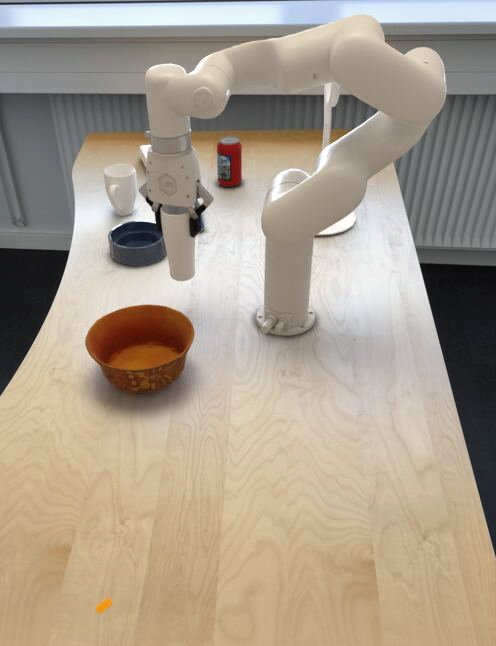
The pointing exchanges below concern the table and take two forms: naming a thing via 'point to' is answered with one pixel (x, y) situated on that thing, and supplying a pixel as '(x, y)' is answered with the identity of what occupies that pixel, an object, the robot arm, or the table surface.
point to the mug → (121, 187)
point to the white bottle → (144, 153)
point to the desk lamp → (329, 101)
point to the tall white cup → (178, 241)
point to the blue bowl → (136, 243)
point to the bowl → (141, 346)
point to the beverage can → (229, 161)
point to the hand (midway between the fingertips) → (178, 230)
